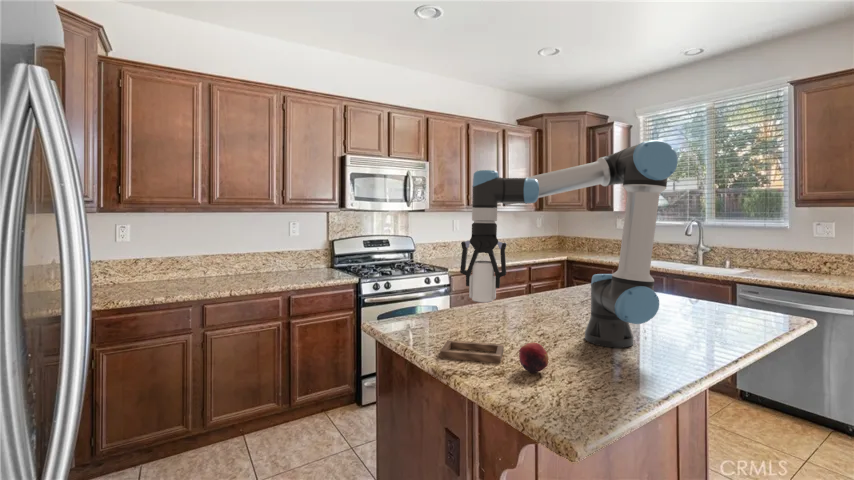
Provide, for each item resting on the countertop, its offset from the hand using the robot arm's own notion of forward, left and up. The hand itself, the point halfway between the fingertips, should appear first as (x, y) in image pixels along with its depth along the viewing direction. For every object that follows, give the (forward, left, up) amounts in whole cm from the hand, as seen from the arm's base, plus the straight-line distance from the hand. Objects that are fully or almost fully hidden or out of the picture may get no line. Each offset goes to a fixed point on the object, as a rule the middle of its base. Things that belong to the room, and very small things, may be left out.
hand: (482, 297), depth 125 cm
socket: (+3, 0, -18) cm, 18 cm away
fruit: (-15, +10, -18) cm, 26 cm away
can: (0, 0, -1) cm, 1 cm away
